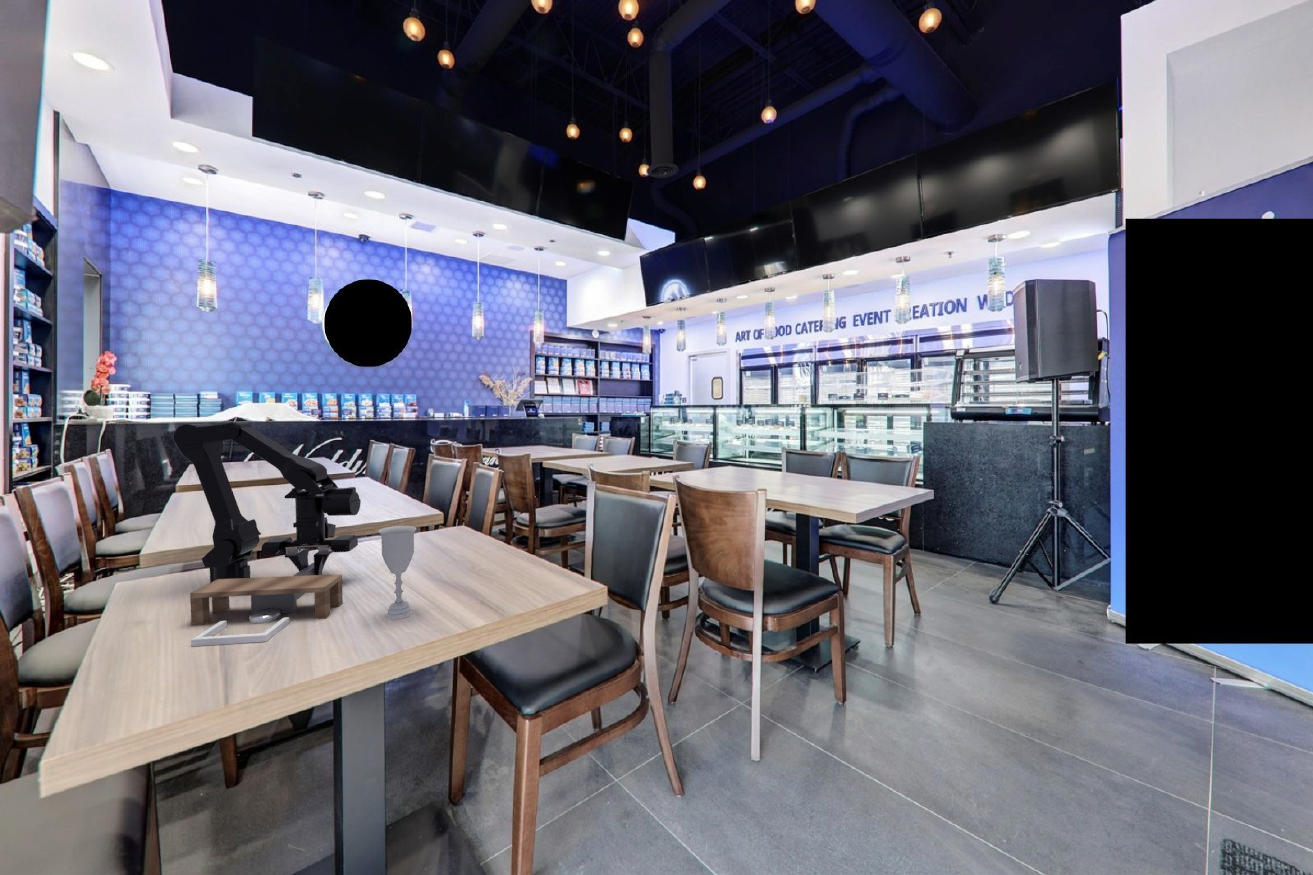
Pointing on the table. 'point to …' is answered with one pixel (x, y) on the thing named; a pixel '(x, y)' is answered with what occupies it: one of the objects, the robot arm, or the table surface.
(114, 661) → the table surface
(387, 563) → the chalice
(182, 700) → the table surface
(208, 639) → the frame
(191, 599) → the walnut bench
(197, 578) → the table surface
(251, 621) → the disc
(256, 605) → the grey wedge block
